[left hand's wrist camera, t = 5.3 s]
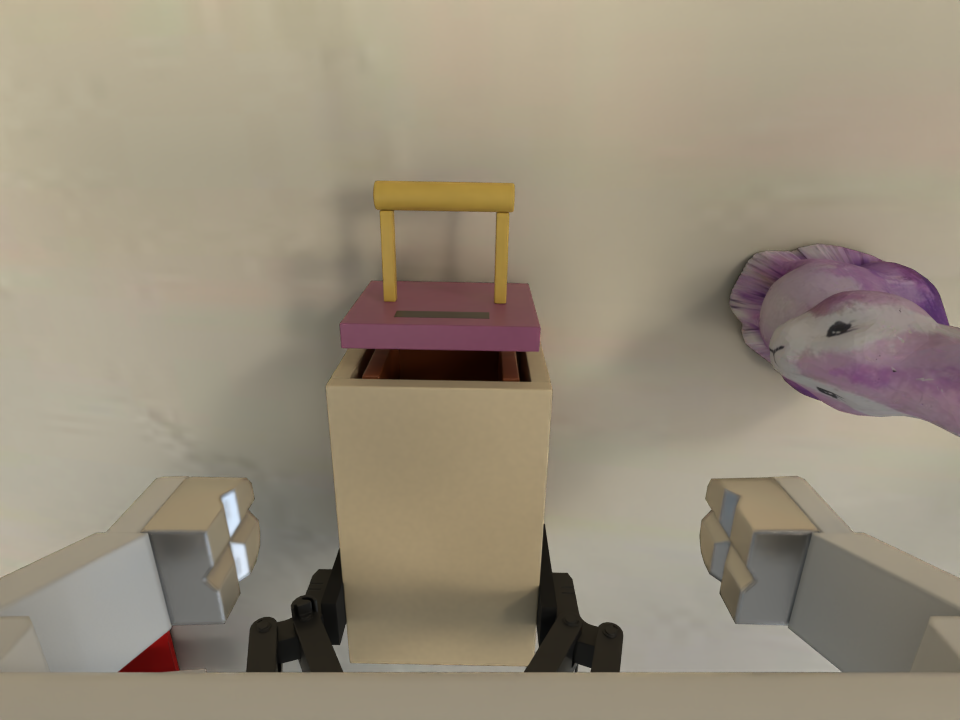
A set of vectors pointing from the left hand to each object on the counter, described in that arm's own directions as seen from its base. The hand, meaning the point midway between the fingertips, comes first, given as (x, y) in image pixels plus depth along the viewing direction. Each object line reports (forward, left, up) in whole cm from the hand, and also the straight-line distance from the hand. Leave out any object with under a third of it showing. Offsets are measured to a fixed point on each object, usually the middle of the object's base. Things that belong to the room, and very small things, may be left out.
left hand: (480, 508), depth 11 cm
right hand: (+17, +3, -20) cm, 26 cm away
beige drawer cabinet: (+13, +2, -25) cm, 28 cm away
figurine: (-3, +19, -25) cm, 31 cm away
